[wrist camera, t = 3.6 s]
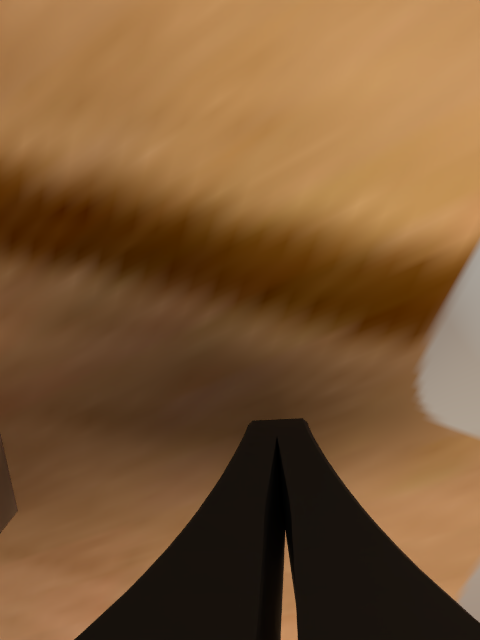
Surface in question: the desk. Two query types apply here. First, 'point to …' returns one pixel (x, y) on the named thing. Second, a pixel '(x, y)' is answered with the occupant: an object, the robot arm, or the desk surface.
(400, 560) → the robot arm
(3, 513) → the walnut block
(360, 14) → the desk surface
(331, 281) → the desk surface
